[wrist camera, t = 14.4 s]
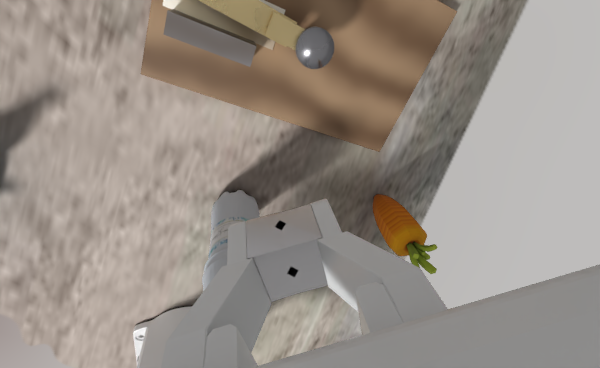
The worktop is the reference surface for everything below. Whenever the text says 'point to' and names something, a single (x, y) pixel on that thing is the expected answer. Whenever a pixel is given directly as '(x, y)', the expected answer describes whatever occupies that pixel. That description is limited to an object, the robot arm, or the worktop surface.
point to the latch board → (291, 72)
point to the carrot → (402, 231)
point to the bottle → (226, 228)
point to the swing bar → (280, 29)
